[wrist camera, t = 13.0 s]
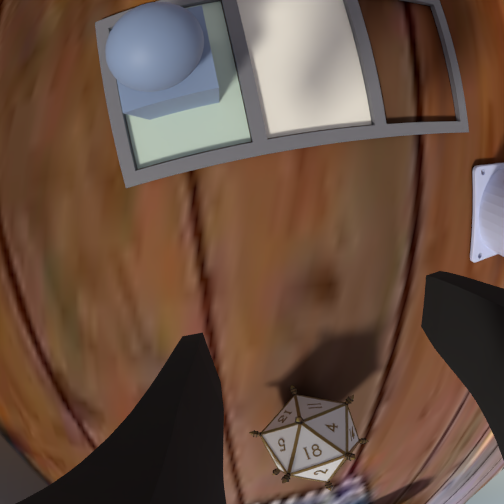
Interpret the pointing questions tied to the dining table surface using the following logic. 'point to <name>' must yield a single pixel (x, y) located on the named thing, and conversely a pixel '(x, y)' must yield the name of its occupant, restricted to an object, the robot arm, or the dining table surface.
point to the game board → (271, 87)
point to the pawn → (162, 60)
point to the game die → (311, 438)
